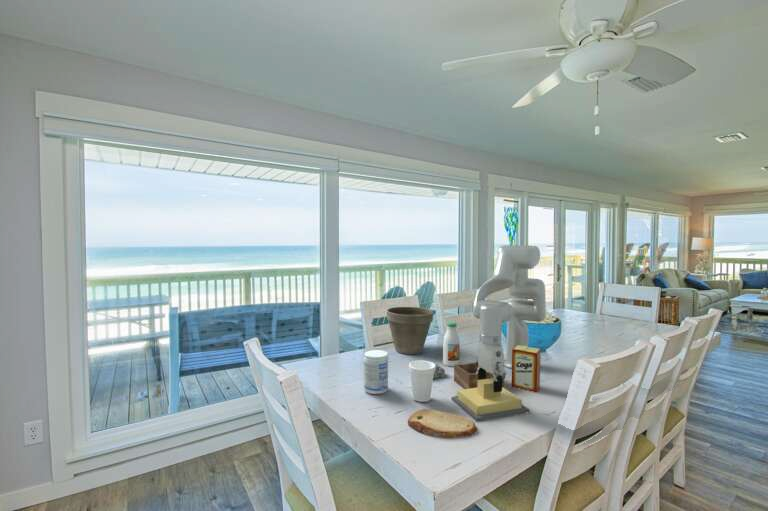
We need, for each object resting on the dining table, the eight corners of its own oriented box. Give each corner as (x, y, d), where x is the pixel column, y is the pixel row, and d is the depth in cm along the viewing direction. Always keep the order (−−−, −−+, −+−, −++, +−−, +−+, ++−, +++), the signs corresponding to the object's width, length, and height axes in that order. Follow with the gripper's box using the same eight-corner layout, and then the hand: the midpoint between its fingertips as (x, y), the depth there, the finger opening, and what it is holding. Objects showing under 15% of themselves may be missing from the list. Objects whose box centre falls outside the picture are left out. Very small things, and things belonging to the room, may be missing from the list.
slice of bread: (482, 432, 114) (482, 420, 113) (437, 449, 104) (437, 436, 104) (444, 409, 129) (444, 398, 129) (402, 422, 119) (402, 411, 119)
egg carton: (425, 381, 154) (425, 371, 153) (417, 375, 161) (417, 366, 160) (447, 377, 158) (447, 368, 158) (437, 371, 165) (438, 362, 165)
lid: (498, 392, 140) (498, 371, 139) (521, 407, 127) (522, 385, 127) (457, 398, 134) (457, 376, 134) (477, 415, 121) (478, 391, 121)
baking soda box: (539, 386, 148) (540, 348, 147) (536, 392, 142) (537, 352, 142) (515, 381, 153) (516, 344, 152) (511, 386, 148) (512, 348, 147)
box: (486, 376, 158) (486, 361, 158) (503, 387, 147) (504, 370, 146) (453, 381, 153) (454, 364, 153) (468, 392, 142) (469, 374, 141)
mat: (499, 392, 142) (499, 389, 142) (529, 412, 126) (529, 409, 126) (451, 399, 136) (451, 396, 135) (476, 421, 119) (476, 418, 119)
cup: (428, 407, 129) (428, 371, 128) (403, 401, 134) (403, 366, 133) (439, 397, 137) (440, 363, 137) (416, 391, 143) (416, 358, 142)
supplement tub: (383, 396, 138) (384, 358, 137) (360, 393, 140) (360, 355, 140) (390, 386, 147) (391, 351, 146) (368, 383, 150) (369, 348, 149)
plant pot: (434, 345, 204) (435, 307, 204) (430, 359, 180) (430, 316, 180) (391, 342, 210) (391, 305, 209) (381, 355, 186) (381, 313, 185)
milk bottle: (441, 365, 172) (441, 323, 171) (444, 360, 179) (445, 320, 178) (457, 367, 169) (458, 325, 168) (460, 362, 176) (461, 321, 175)
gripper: (514, 345, 123) (513, 394, 123) (485, 332, 139) (484, 376, 140) (495, 347, 120) (494, 397, 121) (468, 333, 137) (467, 378, 137)
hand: (489, 386), depth 130 cm, fingers open, 9 cm apart
